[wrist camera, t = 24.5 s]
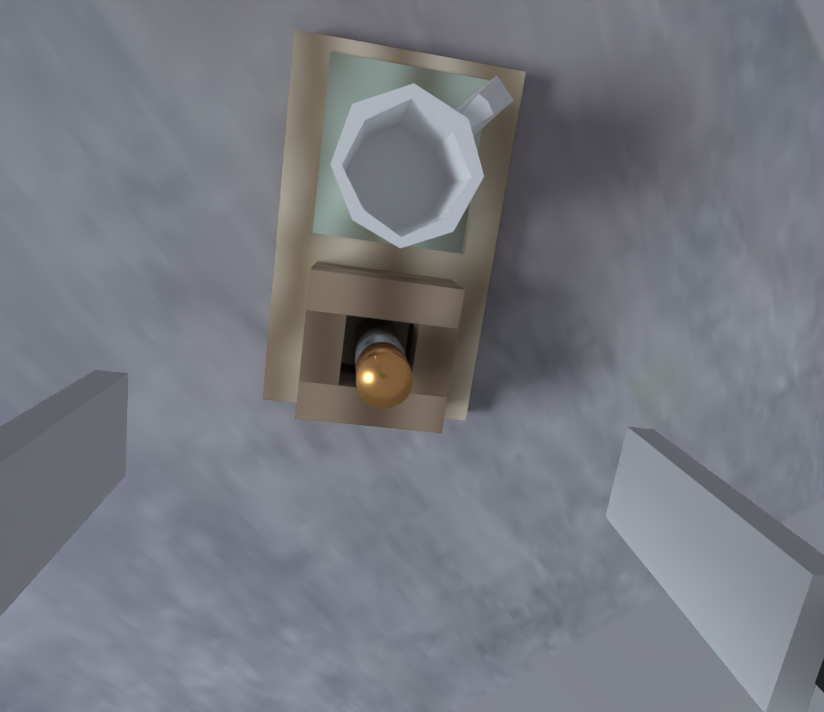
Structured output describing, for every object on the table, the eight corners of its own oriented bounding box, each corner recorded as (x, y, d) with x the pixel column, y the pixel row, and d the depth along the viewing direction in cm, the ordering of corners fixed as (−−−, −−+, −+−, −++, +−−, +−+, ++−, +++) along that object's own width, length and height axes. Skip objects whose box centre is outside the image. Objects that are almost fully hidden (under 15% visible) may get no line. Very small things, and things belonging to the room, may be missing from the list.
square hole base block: (267, 391, 46) (248, 427, 38) (297, 38, 40) (282, -4, 32) (461, 412, 48) (481, 450, 40) (518, 78, 42) (554, 47, 34)
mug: (390, 262, 42) (400, 277, 33) (311, 167, 40) (296, 153, 30) (518, 153, 41) (566, 135, 31) (443, 49, 39) (470, -3, 29)
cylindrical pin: (352, 354, 44) (353, 405, 32) (357, 313, 43) (359, 350, 31) (393, 358, 44) (409, 411, 32) (399, 318, 43) (417, 356, 32)
